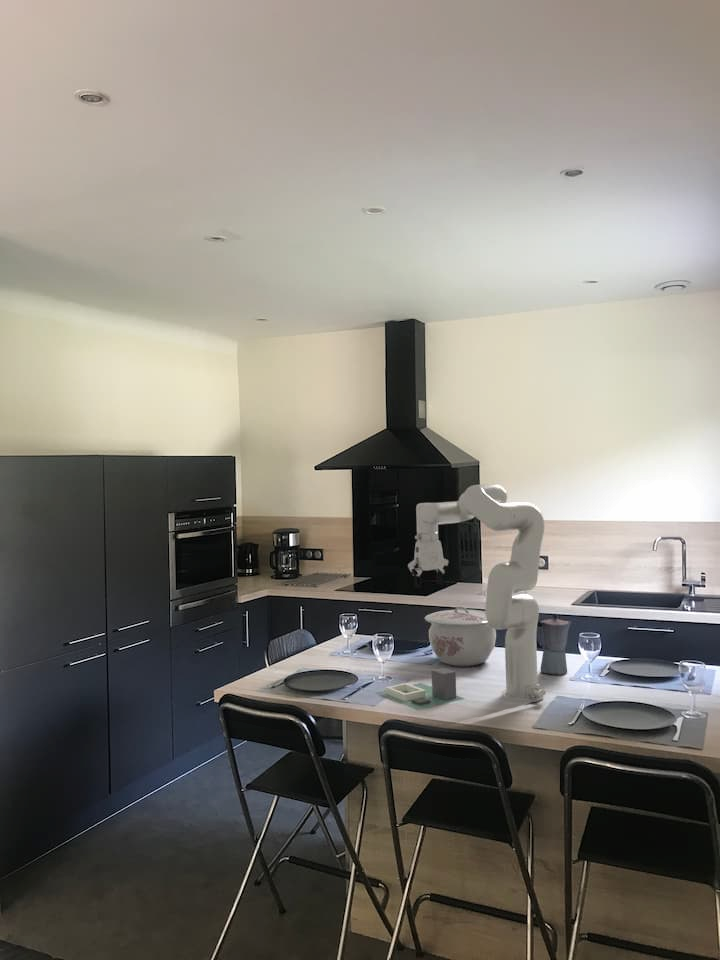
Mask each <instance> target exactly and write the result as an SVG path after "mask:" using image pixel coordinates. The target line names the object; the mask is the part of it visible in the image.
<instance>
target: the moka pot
mask: <svg viewBox="0 0 720 960" xmlns="http://www.w3.org/2000/svg"><path fill="white" fill-rule="evenodd" d="M552 616H553V618H550V619H544V620H541V621H539V620H538V623H537V628H541V633H542V643H543V645H540V643H539V639H538V634H536V642H537V647H536V648H537V649H543V652H542V656H541V663H540V671H541V672H542V673H544V674H548V675H549V674H550V675H565V674H568V666H567V655H566V653H567V652H566V651H565V650H566V645H567V642H568V635H569V628H570V626H571V625H572V622H571V621H568V620H562V619H560V618H559V619H558V614H556V613H554V614H552Z"/></svg>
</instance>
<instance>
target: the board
mask: <svg viewBox="0 0 720 960" xmlns="http://www.w3.org/2000/svg"><path fill="white" fill-rule="evenodd" d="M375 694H377V695H379V696H382V697H383V698H386V699H389V700H392V701H394V702H397V703H399V704H402V705H404V706H407V707H409V708H411V709H415V710H418V711H420V710H424V709H427V708H432V707H436V706H441V705H444V704H449V703H453V702H456V701H457V702H458V701H461V700H465V698H466V697H465V698H464V697H462V696H459V695H457V694H456V698H454V699H450V700H446V701H444V700H442V699H439V698H436V697H433V696H432V685H428V684H424V683H422V682H420V683H419V682H418V683H415V684H410V683H407V682H404V683H401V684H400V683H399V684H396V685H391V686H386V687H385V690H383V691H378V692H375Z"/></svg>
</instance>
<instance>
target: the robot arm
mask: <svg viewBox="0 0 720 960" xmlns="http://www.w3.org/2000/svg"><path fill="white" fill-rule="evenodd" d="M507 499H508V493H507V492H506V489H504V487H502V486H501V485H499V484H494V483H491V484H490V483H486V484H485V483H484V484H482V483H481V484H474V485H470V486H469V487H467V488H466V490H465V491H464V492H463V493H462V494H461V495H460V496H459V497H458V500H455V501H444V502H443V501H442V502H420V503H418V504H416V508H415V511H416V513H415V514H416V535H415V536H414V539H415V540H416V541H415V546H414V547H415V548H414V555H413V556H414V559H413V560H412V561H410V562H409V563H408V564H407V568H408V570H409V572H410V573H411V574H412V576H414V577H413V578H414V581H413V582H414V587H415V588H419V589H421V588H422V585H423V584H422V573H423V571H436V573H435V574H436V576H435V577H436V578H435V580H436V581H435V582H436V584H437V585H440V586H443V585H444V574H445V573H446V570H447V568H448V565H449V560H448V559H446V558H444V553H443V547H442V542H441V540H439V525H447V524H457V523H461V522H465V521H468V520H472V519H474V518H476V519H478V521H480V522H481V523H483V525H484V526H486V527H487V528H489V530H492V531H494V532H508V531H509V532H510V531H518V534H517V535H516V537H515V538H514V540H513V542H512V547H511V555H510V558H509V561H507V562H500V563H497V564H495V565H494V566H493V567H492V569H491V570H490V572H489V573H488V578H487V588H486V597H485V598H486V599H485V609H484V611H485V614H486V619H487V622H488V623H489V625H490V626H491V627H492V628H494V629H495V630H498V631H499V630H506V629H507V630H506V633H505V637H504V653H505V654H504V657H505V686H506V687H505V689H504V690H502V691H501V695H502V696H504V697H506V698H509V699H513V700H517V699H518V700H524V701H525V700H526V701H527V700H535V701H533V703H534V702H535V703H536V702H539V701H542V699H543V698H544V696H546V694H547V691H546V690H544V689H541V684H540V683H538V659H537V658H538V654H537V651H538V650H537V649H538V648H537V642H536V634H537V631H538V626H537V623H538V621H539V615H540V607H539V604H538V602H537V600H536V599H535V598H534V597H533V596H531V595H529V594H525V593H524V592H529V591H531V590H533V589H534V588H536V586H537V582H538V576H539V566H540V558H541V548H542V542H543V538H544V534H545V533H544V532H545V520H544V517H543V514H542V511H540V509H539V508H538V507H537V506H535V505H534V504H532V503H530V502H525V501H524V502H523V501H519V502H518V501H514V502H507ZM537 635H538V634H537Z"/></svg>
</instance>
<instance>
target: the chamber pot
mask: <svg viewBox="0 0 720 960" xmlns="http://www.w3.org/2000/svg"><path fill="white" fill-rule="evenodd" d="M424 620H425V621H426V622H427V623H430V624H431V625H430V628H429V629H428V638H429V639H428V640H429V643H430V647H431V650H432V651H433V652H434V654H435V657H436V659H438V660H439V661H440V662H441V663H444V664H446V665H449V666H452V667H461V666H462V668H463V667H464V668H465V666H466V667H474V665H475V666H479V665H481V664H483V663H485V662H487V660H488V659H489V658H490V655H491V654H492V652H493V650H494V648H495V646H496V645H495V644H496V640H497V629H494V628H492V627H491V626H490V625H489V623H488V622H487V619H486V614H485V610H478V609H467V608H466V607H464V606H461V605H459V606H457V607H456V608H454V609H447V610H440V611H435V612H432V613H429V614H426V615H425V617H424Z"/></svg>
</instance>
